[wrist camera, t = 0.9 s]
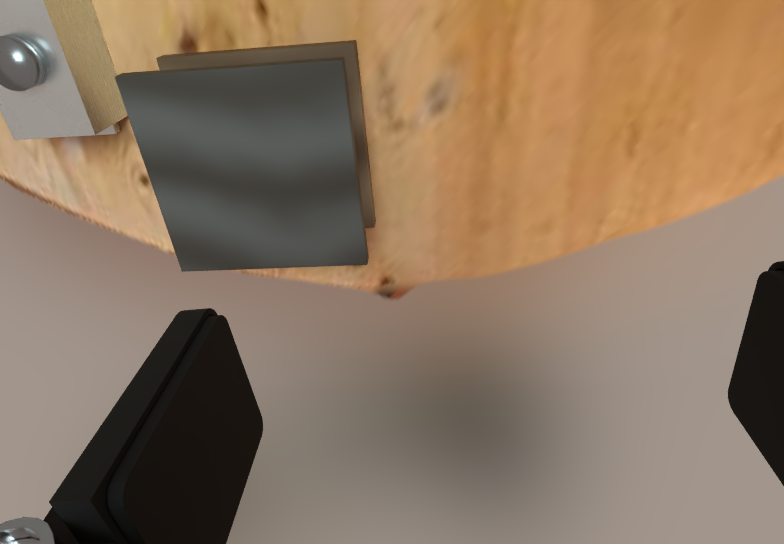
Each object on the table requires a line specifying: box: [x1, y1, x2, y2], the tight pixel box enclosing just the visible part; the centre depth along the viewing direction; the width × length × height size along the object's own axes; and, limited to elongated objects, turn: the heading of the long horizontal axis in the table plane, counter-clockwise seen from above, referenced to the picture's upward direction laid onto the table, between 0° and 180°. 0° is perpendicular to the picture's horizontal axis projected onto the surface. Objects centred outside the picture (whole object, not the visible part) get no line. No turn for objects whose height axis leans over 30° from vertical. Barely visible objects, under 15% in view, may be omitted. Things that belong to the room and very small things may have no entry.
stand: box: [115, 40, 376, 271], centre depth 38 cm, size 14×14×7 cm
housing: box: [0, 0, 128, 140], centre depth 35 cm, size 12×6×6 cm, turn 4°
